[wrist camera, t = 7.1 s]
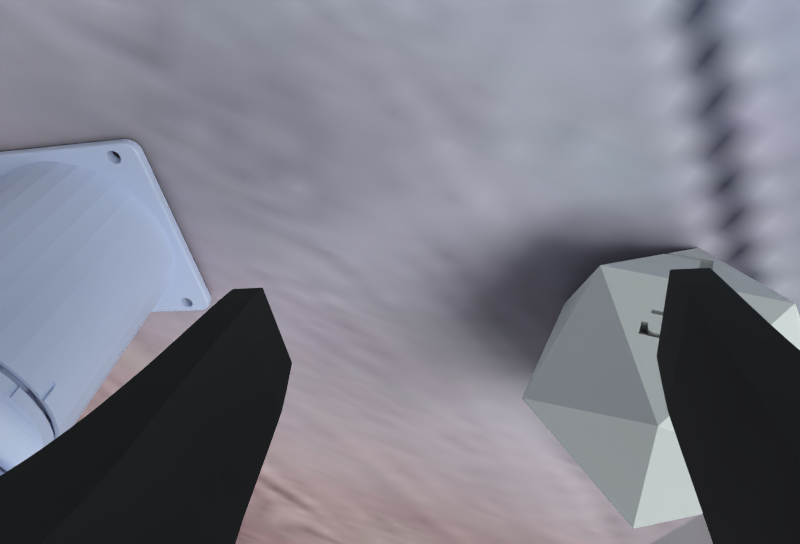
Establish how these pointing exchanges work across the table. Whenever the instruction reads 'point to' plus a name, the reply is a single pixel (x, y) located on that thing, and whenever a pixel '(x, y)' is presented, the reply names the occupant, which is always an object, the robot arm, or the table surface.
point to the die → (629, 381)
